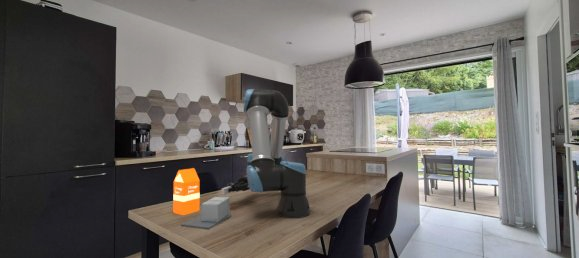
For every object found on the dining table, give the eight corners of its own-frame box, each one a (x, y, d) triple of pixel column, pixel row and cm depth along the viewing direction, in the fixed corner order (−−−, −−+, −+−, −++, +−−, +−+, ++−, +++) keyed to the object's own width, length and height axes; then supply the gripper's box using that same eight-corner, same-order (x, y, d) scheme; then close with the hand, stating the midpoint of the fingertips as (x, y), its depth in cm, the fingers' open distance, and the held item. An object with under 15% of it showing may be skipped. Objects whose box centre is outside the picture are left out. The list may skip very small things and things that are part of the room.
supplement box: (230, 196, 112) (218, 204, 99) (230, 213, 112) (218, 223, 99) (214, 196, 113) (201, 203, 100) (214, 212, 113) (200, 221, 100)
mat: (206, 214, 113) (206, 212, 113) (231, 216, 109) (231, 215, 109) (180, 225, 98) (180, 224, 98) (208, 229, 94) (208, 227, 94)
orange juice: (199, 210, 119) (199, 168, 120) (183, 215, 111) (183, 170, 112) (189, 208, 123) (189, 167, 124) (172, 212, 115) (173, 169, 116)
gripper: (257, 190, 135) (235, 200, 113) (235, 189, 139) (210, 199, 117) (256, 176, 136) (235, 184, 113) (235, 175, 139) (210, 183, 117)
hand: (222, 191), depth 115 cm, fingers closed
